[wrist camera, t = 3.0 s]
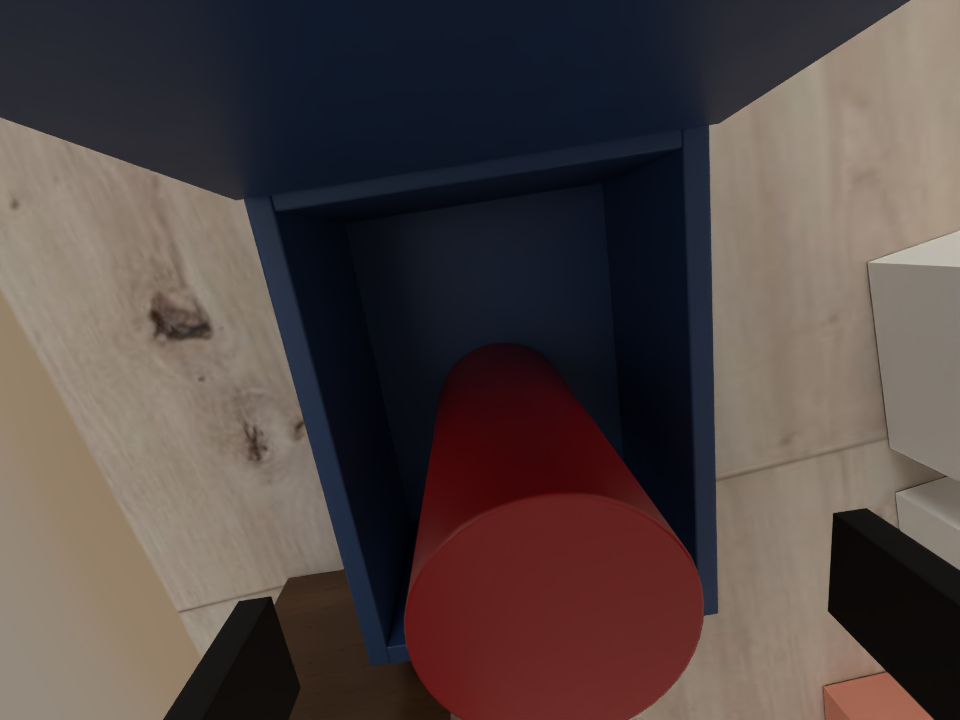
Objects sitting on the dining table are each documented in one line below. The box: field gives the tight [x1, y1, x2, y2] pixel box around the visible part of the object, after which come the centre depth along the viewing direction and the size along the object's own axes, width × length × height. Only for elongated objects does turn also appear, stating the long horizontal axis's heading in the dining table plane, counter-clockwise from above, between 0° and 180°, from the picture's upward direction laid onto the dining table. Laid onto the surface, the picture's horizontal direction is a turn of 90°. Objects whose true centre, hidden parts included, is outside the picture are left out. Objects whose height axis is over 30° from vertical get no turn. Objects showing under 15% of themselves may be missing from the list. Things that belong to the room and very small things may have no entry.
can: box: [404, 343, 704, 720], centre depth 17 cm, size 7×7×14 cm
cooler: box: [244, 125, 718, 666], centre depth 19 cm, size 18×14×9 cm
